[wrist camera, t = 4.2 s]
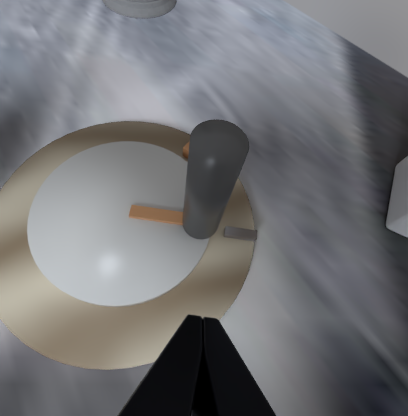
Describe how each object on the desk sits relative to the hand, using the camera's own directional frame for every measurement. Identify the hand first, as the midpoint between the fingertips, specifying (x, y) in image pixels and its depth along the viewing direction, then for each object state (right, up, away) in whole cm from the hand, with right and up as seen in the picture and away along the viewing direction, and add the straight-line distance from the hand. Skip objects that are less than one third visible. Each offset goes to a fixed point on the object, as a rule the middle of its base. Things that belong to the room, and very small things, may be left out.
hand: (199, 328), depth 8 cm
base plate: (-5, +2, +12) cm, 13 cm away
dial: (-5, +3, +11) cm, 13 cm away
